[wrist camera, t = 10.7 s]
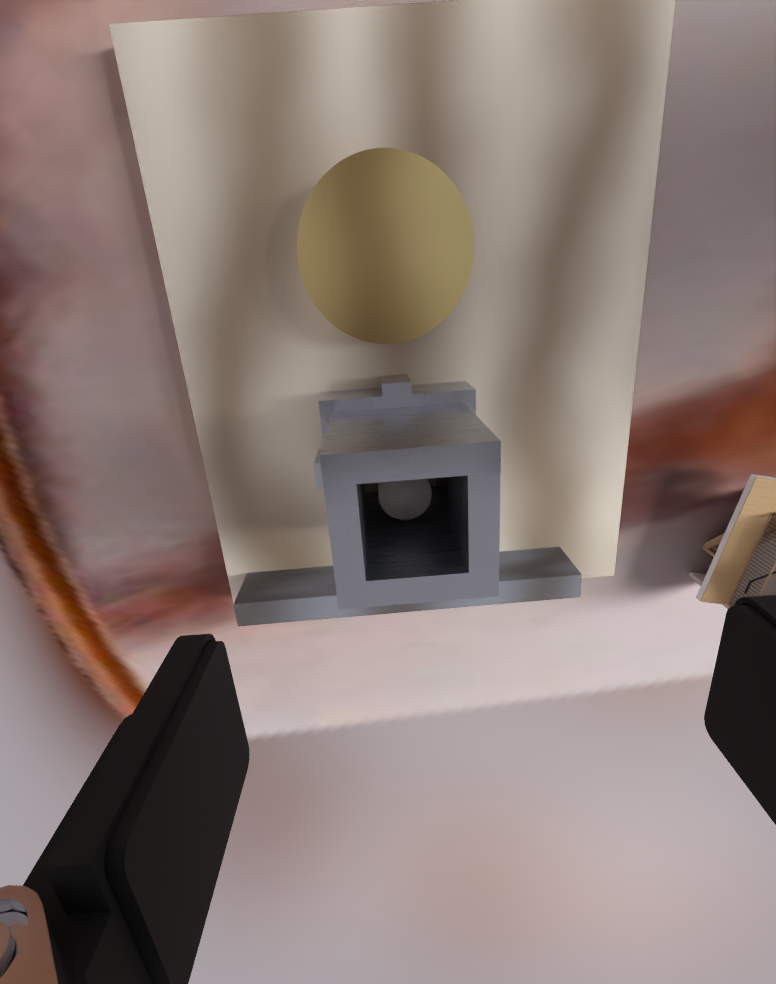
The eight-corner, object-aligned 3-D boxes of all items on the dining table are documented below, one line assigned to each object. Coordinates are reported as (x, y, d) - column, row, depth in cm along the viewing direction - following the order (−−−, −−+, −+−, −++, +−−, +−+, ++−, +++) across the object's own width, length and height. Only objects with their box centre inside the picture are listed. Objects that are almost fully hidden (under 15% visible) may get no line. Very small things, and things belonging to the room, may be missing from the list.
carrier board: (654, 8, 19) (789, -129, 13) (601, 561, 28) (667, 634, 22) (128, 44, 19) (13, -79, 13) (241, 592, 27) (205, 675, 21)
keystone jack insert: (476, 368, 22) (535, 404, 14) (477, 520, 25) (527, 618, 17) (310, 381, 22) (280, 425, 14) (328, 532, 25) (312, 636, 17)
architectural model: (658, 568, 29) (752, 654, 22) (705, 453, 26) (827, 508, 19) (713, 575, 29) (823, 662, 22) (764, 462, 26) (906, 520, 20)
